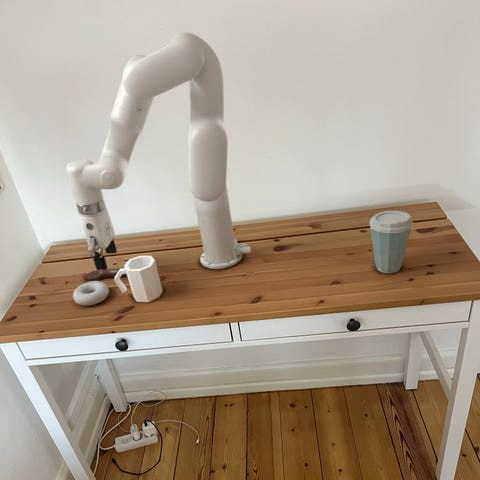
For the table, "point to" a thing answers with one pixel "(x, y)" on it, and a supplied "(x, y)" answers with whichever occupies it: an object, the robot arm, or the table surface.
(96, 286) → the donut
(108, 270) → the spoon
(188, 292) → the table surface
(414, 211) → the table surface
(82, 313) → the table surface
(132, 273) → the mug
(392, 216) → the disposable coffee cup
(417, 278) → the table surface
